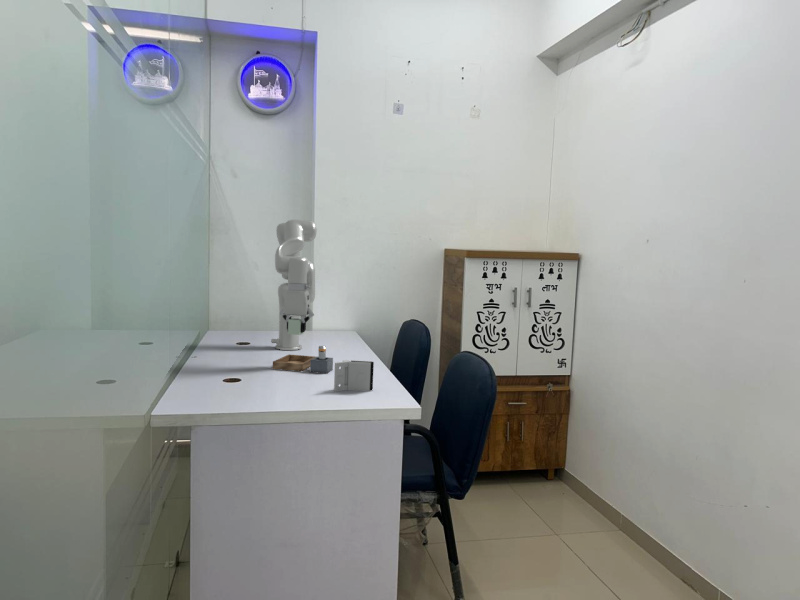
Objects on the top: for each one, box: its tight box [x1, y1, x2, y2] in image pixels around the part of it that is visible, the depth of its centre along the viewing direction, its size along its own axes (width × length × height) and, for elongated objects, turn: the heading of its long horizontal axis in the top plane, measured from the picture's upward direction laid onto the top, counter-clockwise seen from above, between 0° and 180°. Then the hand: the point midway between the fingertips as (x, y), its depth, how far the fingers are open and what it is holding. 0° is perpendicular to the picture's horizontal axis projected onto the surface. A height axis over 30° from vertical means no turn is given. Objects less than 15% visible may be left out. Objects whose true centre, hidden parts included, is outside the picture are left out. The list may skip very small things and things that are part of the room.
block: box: [309, 356, 334, 374], centre depth 226 cm, size 7×7×5 cm
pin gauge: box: [317, 345, 327, 360], centre depth 226 cm, size 3×3×10 cm
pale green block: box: [288, 318, 305, 336], centre depth 232 cm, size 5×5×6 cm
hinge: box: [333, 359, 375, 392], centre depth 200 cm, size 14×5×10 cm, turn 101°
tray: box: [272, 354, 316, 372], centre depth 233 cm, size 13×17×3 cm
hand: (296, 331), depth 232 cm, fingers closed on pale green block, 5 cm apart
